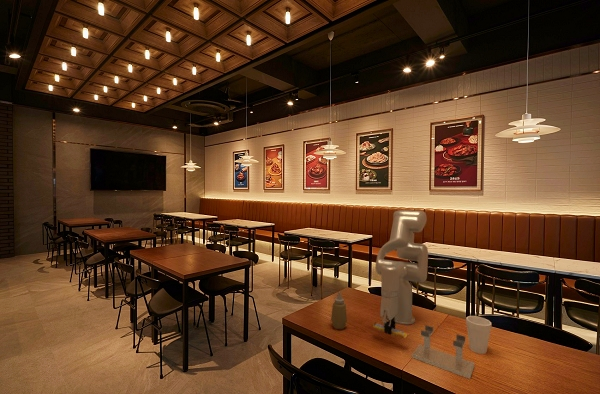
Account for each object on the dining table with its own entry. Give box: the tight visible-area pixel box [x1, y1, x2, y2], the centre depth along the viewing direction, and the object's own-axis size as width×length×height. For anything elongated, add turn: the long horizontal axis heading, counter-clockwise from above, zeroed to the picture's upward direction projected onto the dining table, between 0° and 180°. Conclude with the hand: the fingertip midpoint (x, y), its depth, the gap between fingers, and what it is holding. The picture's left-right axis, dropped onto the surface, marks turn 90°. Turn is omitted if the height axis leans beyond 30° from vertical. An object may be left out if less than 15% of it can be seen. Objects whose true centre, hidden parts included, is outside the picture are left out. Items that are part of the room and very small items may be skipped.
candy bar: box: [371, 322, 410, 339], centre depth 128 cm, size 17×4×2 cm, turn 50°
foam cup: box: [465, 315, 492, 355], centre depth 122 cm, size 10×9×13 cm
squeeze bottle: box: [330, 291, 348, 330], centre depth 142 cm, size 8×8×18 cm
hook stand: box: [411, 325, 475, 380], centre depth 113 cm, size 10×21×12 cm, turn 50°
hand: (389, 330), depth 128 cm, fingers closed on candy bar, 4 cm apart
